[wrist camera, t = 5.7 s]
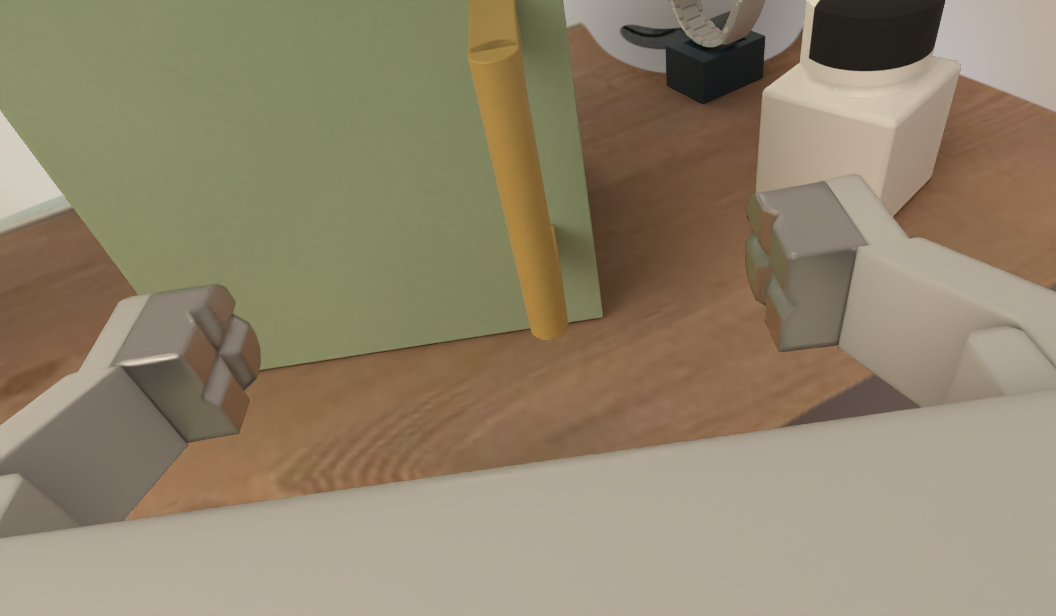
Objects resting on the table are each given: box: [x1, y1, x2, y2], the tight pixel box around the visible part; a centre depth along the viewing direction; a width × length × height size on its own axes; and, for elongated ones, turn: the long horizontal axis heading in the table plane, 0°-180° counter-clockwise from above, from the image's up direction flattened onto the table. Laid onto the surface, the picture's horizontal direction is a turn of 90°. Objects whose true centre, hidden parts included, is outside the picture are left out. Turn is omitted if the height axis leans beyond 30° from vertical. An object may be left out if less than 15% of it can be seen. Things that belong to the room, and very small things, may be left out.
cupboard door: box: [0, 0, 603, 370], centre depth 28 cm, size 7×22×22 cm, turn 93°
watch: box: [666, 0, 765, 104], centre depth 49 cm, size 6×8×11 cm
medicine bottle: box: [755, 0, 961, 216], centre depth 36 cm, size 7×7×12 cm
